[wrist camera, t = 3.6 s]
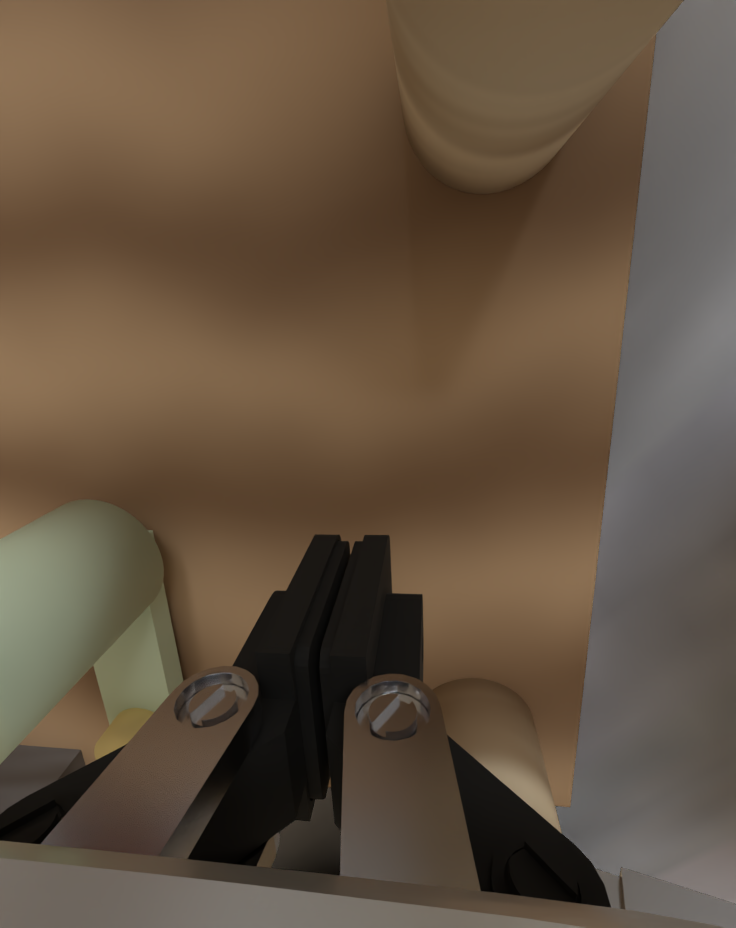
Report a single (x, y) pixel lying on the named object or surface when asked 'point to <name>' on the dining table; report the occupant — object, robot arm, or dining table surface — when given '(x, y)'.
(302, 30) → the stool board
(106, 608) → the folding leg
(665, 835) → the dining table surface
